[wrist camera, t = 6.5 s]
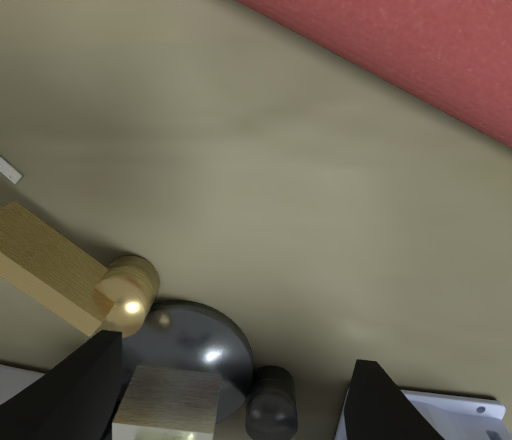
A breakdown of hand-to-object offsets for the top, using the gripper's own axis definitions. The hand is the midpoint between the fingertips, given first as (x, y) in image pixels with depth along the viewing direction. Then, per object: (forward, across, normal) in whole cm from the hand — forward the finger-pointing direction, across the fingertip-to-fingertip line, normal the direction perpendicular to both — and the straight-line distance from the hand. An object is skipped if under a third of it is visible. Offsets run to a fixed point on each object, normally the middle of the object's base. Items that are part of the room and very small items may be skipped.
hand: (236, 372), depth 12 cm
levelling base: (+9, +5, +5) cm, 12 cm away
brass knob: (+9, +8, +1) cm, 12 cm away
